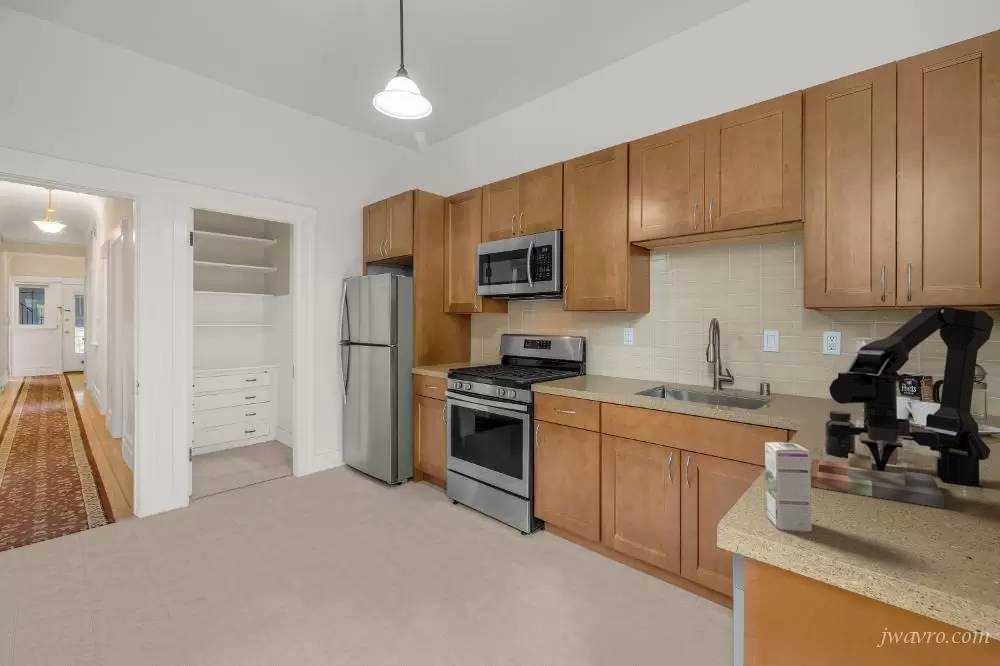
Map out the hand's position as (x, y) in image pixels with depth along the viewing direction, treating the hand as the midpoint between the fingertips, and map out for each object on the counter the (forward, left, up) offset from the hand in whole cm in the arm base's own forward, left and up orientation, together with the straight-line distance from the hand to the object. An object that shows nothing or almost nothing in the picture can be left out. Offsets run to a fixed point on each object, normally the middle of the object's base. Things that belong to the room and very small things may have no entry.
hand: (880, 471), depth 101 cm
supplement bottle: (+7, -28, -4) cm, 29 cm away
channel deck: (+2, 0, -4) cm, 4 cm away
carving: (-1, -20, -4) cm, 20 cm away
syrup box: (+15, +34, -4) cm, 37 cm away
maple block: (+4, 0, -1) cm, 4 cm away
